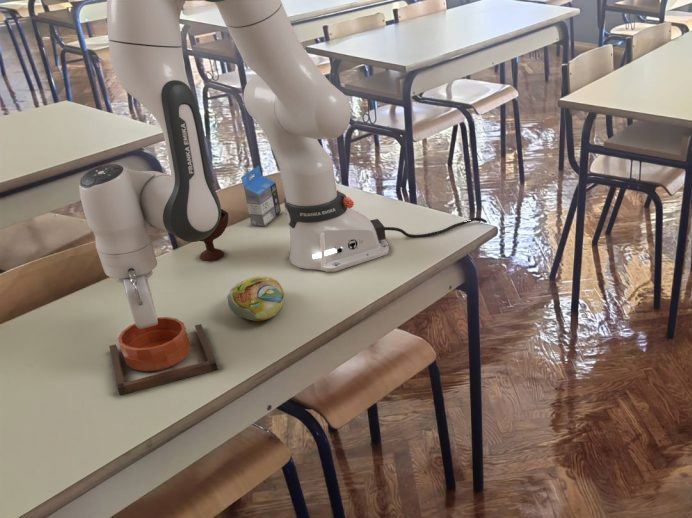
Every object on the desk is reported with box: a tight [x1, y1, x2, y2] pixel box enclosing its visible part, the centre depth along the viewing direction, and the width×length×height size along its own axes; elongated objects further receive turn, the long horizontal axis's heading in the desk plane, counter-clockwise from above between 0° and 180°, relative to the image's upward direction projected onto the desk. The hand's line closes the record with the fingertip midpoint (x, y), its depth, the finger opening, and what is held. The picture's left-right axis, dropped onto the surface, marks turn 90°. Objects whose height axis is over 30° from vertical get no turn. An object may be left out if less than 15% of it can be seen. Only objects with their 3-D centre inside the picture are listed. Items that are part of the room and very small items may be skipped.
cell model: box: [227, 275, 285, 322], centre depth 152 cm, size 11×8×15 cm
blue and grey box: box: [240, 165, 282, 227], centre depth 187 cm, size 9×4×12 cm, turn 167°
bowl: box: [117, 316, 192, 372], centre depth 138 cm, size 11×11×5 cm
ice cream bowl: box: [199, 208, 230, 263], centre depth 169 cm, size 11×11×15 cm
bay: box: [108, 323, 219, 396], centre depth 138 cm, size 16×15×2 cm
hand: (149, 325), depth 143 cm, fingers closed
